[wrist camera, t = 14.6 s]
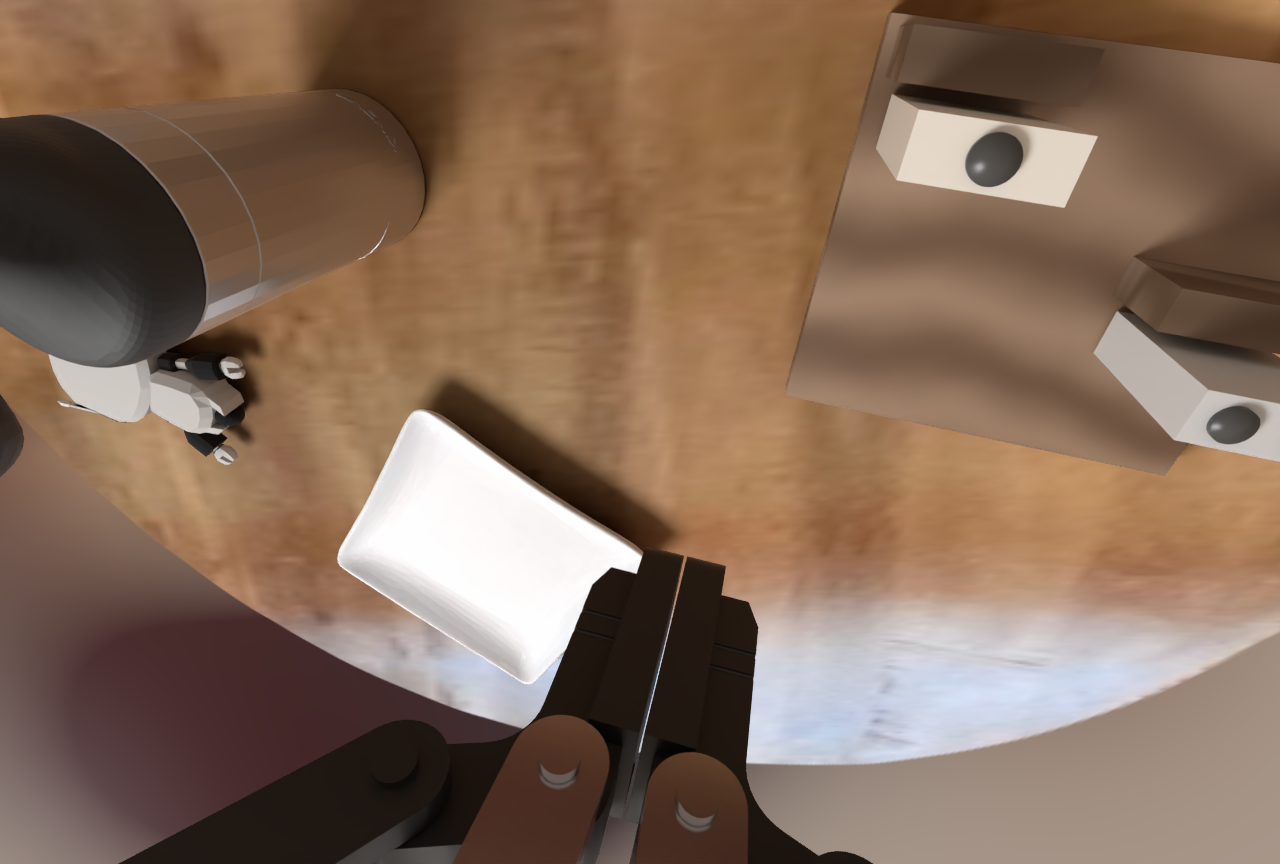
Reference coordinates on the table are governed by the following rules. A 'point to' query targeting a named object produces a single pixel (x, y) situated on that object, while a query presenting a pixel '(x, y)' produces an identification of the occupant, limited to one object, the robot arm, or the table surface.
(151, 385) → the robot toy
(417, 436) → the salad plate
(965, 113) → the tile one
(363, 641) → the table surface
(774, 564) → the table surface
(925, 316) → the brown piece
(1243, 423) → the tile two
